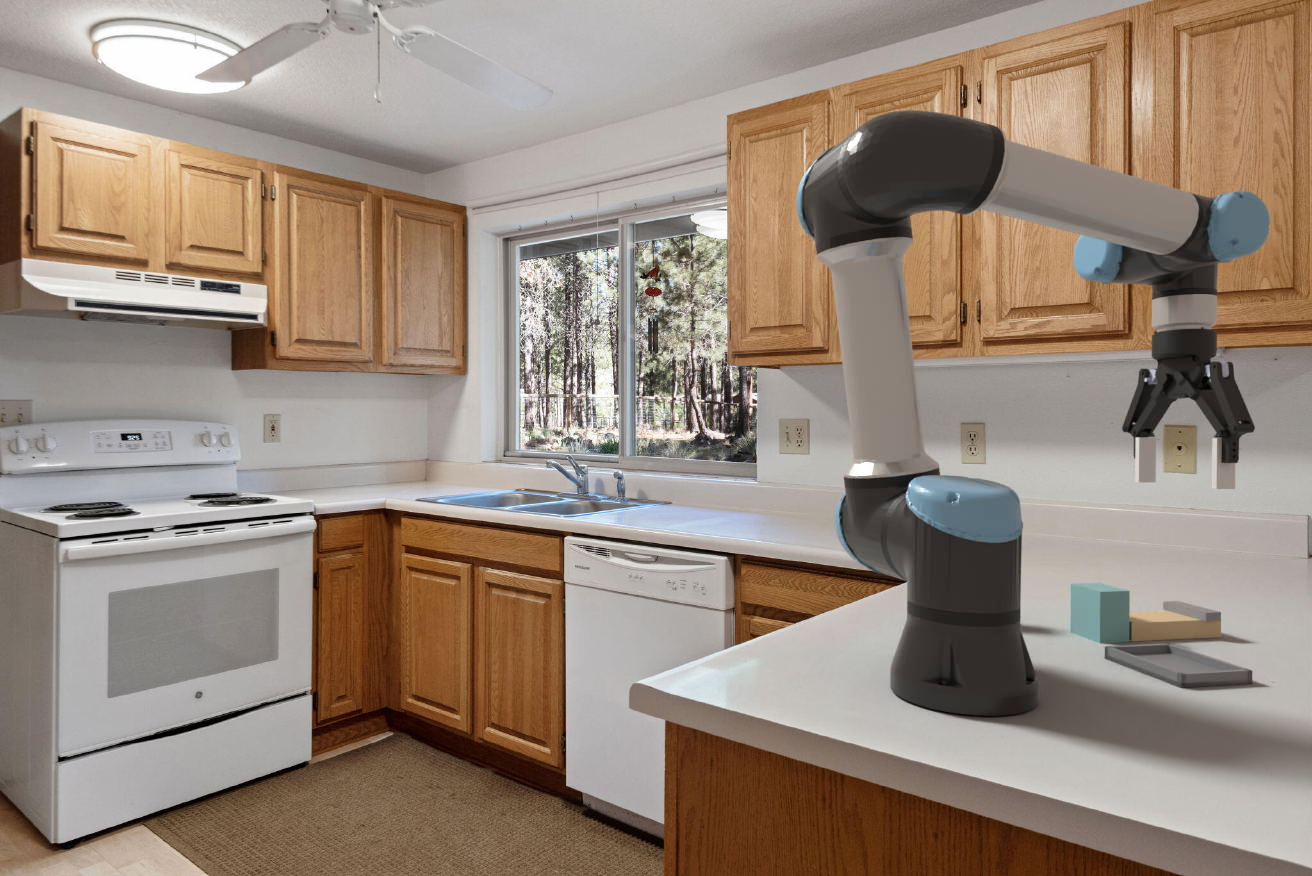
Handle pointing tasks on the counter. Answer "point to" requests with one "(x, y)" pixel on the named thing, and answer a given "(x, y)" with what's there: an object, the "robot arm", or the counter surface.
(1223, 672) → the tray
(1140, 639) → the tan notched slab
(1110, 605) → the block
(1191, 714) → the counter surface
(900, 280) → the robot arm
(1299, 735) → the counter surface
